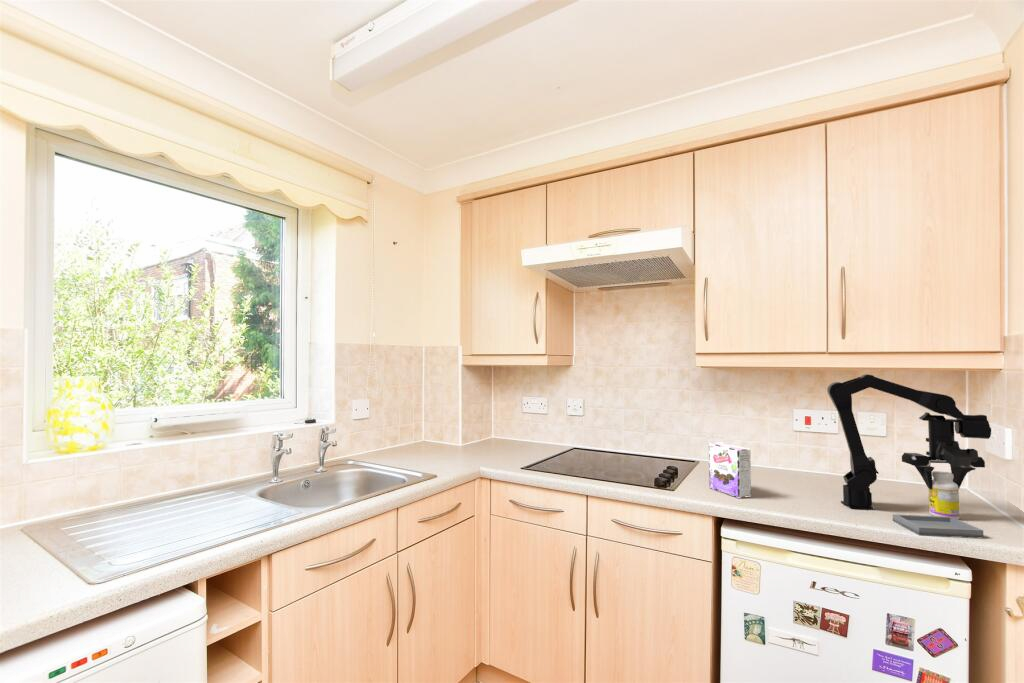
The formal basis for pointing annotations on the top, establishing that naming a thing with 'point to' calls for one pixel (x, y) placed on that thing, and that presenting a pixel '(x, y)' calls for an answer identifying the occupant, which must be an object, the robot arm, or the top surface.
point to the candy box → (730, 469)
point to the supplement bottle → (944, 495)
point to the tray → (937, 526)
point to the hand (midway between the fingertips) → (943, 489)
